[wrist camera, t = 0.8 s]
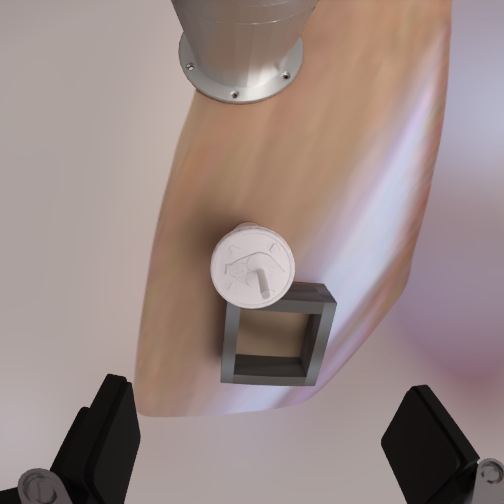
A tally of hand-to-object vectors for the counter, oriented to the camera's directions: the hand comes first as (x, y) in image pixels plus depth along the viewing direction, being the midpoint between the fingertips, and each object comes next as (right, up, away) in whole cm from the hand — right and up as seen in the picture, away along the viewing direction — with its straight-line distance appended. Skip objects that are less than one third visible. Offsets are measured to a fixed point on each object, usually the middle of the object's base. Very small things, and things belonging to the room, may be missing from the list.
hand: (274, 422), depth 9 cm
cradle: (+1, -3, +26) cm, 26 cm away
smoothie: (-1, +7, +23) cm, 24 cm away
